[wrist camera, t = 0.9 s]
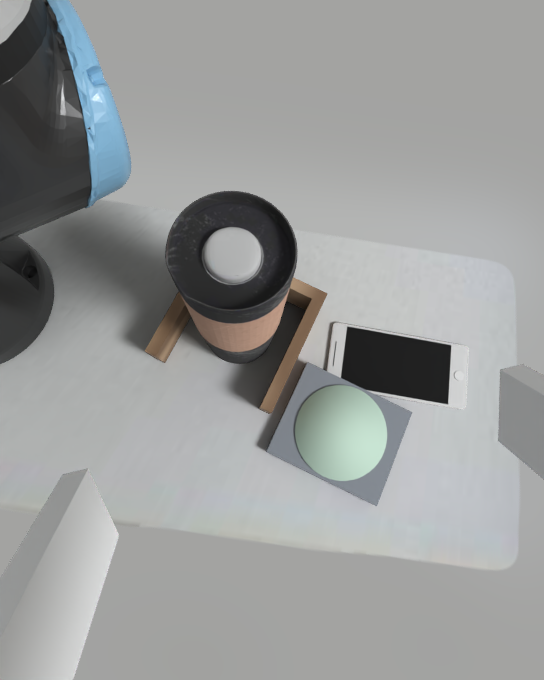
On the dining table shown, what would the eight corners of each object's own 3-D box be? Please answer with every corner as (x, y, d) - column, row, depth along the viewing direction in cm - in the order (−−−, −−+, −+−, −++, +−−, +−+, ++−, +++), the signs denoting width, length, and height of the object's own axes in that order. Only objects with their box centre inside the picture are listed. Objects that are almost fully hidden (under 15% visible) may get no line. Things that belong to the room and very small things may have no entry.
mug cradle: (154, 358, 39) (144, 351, 35) (212, 254, 42) (209, 237, 38) (269, 413, 39) (271, 413, 35) (319, 305, 42) (327, 293, 38)
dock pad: (265, 450, 38) (266, 452, 36) (305, 363, 40) (307, 361, 39) (372, 503, 37) (377, 506, 36) (407, 412, 40) (413, 412, 38)
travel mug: (281, 307, 41) (312, 206, 22) (265, 374, 39) (283, 329, 20) (214, 291, 41) (185, 174, 22) (195, 357, 39) (145, 294, 20)
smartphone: (461, 410, 41) (466, 410, 40) (323, 386, 40) (325, 385, 39) (464, 347, 42) (469, 345, 41) (331, 323, 42) (333, 321, 41)
